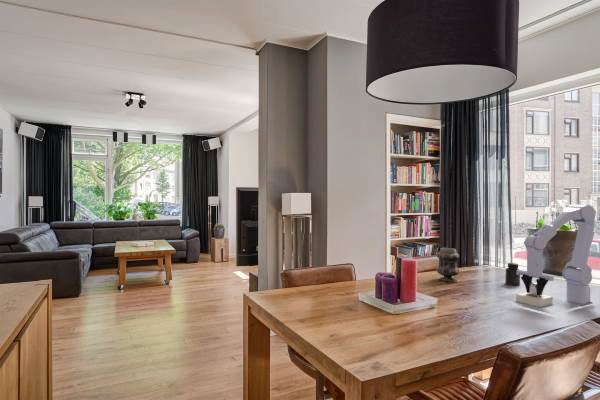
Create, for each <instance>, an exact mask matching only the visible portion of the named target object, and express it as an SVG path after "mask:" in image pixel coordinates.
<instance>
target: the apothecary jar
mask: <svg viewBox="0 0 600 400" xmlns="http://www.w3.org/2000/svg"><path fill="white" fill-rule="evenodd" d="M439 249H440V250H439V251H438V252H437V254H436V257H437V259H438V265H437V267H436V272H437V273H438V275H439V274H440V275H441V276H442V277H439V278H438V279H439V280H442V281H441V282H443V281H448V282H447V283H457V282H458V280H457V279H456V278H454V277H455V276H457V275H459V274H460V269H459V268H458V260H459V259H460V254H459V253H458V251H457V249H456V248H449V247H441V248H439ZM439 280H438V281H439ZM456 281H457V282H456Z"/></svg>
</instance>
